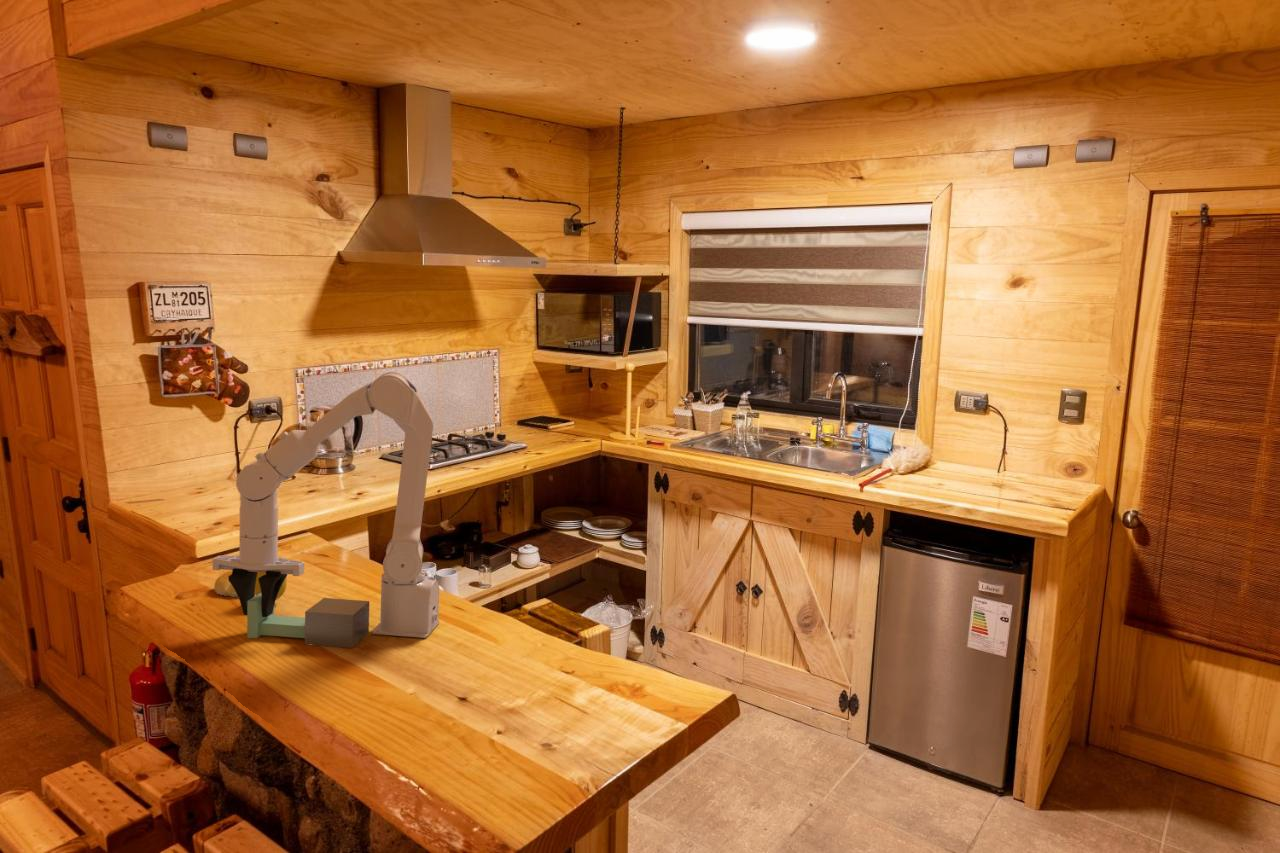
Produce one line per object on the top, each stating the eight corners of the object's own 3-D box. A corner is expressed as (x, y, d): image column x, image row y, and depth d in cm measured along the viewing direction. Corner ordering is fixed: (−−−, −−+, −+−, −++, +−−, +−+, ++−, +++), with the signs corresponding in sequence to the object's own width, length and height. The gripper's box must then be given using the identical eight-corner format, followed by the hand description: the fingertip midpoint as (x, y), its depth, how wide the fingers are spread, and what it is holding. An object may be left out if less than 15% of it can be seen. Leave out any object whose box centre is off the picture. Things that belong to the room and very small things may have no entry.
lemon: (292, 600, 151) (292, 558, 150) (276, 610, 146) (276, 566, 145) (263, 597, 152) (264, 556, 151) (246, 607, 146) (247, 564, 145)
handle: (337, 631, 137) (338, 595, 137) (323, 643, 132) (323, 606, 131) (258, 625, 138) (259, 589, 137) (241, 637, 132) (241, 600, 132)
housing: (368, 632, 138) (369, 601, 137) (352, 648, 131) (352, 615, 130) (323, 629, 138) (324, 597, 138) (304, 644, 131) (305, 611, 131)
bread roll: (234, 582, 160) (234, 563, 160) (274, 588, 158) (274, 568, 158) (202, 595, 152) (203, 574, 152) (244, 601, 150) (244, 580, 150)
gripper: (313, 531, 137) (311, 609, 138) (229, 525, 138) (228, 603, 139) (293, 541, 130) (292, 623, 131) (204, 535, 131) (204, 617, 132)
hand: (258, 614), depth 135 cm, fingers closed on handle, 3 cm apart
